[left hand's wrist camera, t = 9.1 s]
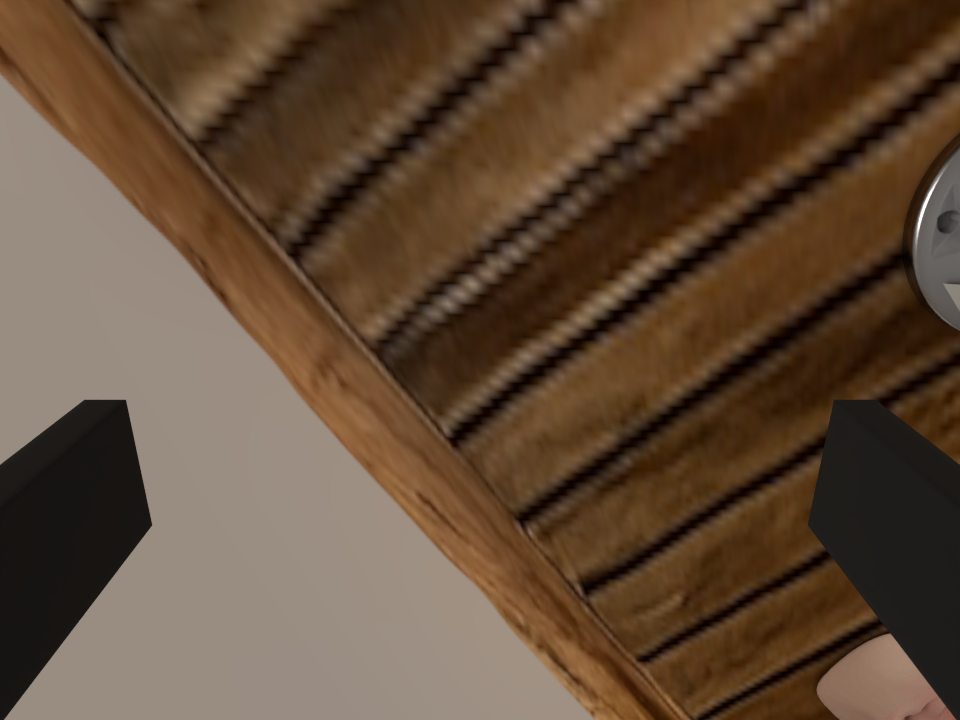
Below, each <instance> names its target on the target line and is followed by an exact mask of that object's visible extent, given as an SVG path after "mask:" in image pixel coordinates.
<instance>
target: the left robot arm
mask: <svg viewBox="0 0 960 720" xmlns="http://www.w3.org/2000/svg"><path fill="white" fill-rule="evenodd" d="M902 250H903V262H904V267H905V272H906V275H907V278H908V281H909V284H910V286H911V288H912V290H913V292H914V294H915V295H916V297H917V299H918V300H919V301H920V303H921V304H922V305H923V306H924V307H925V308H926V309H927V310H928V311H929V312H930V313H931V314H932V315H933V316H934V317H936V318H937V319H938V320H940V321H942V322H943V323H945V324H947V325H949V326H951V327H953V328H955V329H957V330H959V331H960V133H959V134H958V135H957V136H956V137H955V138H954V139H953V140H952V141H951V142H950V143H949V144H948V145H947V146H946V147H945V148H944V149H943V151H942V152H941V153H940V154H939V155H938V156H937V158H936V159H935V160H934V162H933V163H932V164H931V166H930V167H929V169H928V170H927V172H926V174H925V175H924V177H923V178H922V180H921V182H920V184H919V186H918V188H917V190H916V192H915V194H914V197H913V199H912V201H911V204H910V207H909V210H908V213H907V217H906V221H905V226H904V233H903V249H902ZM151 526H152V522H151V517H150V513H149V508H148V503H147V498H146V493H145V489H144V484H143V479H142V474H141V470H140V465H139V460H138V455H137V451H136V446H135V441H134V436H133V432H132V427H131V422H130V417H129V413H128V408H127V403H126V400H84V401H82V402H81V403H80V404H79V405H77V406H76V407H75V408H73V409H72V410H71V411H70V412H68V413H67V414H66V415H64V416H63V417H62V418H60V419H59V420H58V421H57V422H55V423H54V424H53V425H51V426H50V427H49V428H47V429H46V430H45V431H44V432H42V433H41V434H40V435H38V436H37V437H36V438H34V439H33V440H32V441H31V442H29V443H28V444H27V445H25V446H24V447H23V448H21V449H20V450H19V451H18V452H16V453H15V454H14V455H12V456H11V457H10V458H8V459H7V460H6V461H5V462H3V463H2V464H1V465H0V720H4V719H5V718H6V716H7V715H8V714H9V712H10V711H11V710H12V708H13V707H14V706H15V704H16V703H17V702H18V701H19V699H20V698H21V696H22V695H23V694H24V693H25V691H26V690H27V689H28V687H29V686H30V685H31V683H32V682H33V681H34V679H35V678H36V677H37V676H38V674H39V673H40V672H41V670H42V669H43V668H44V666H45V665H46V664H47V662H48V661H49V660H50V659H51V657H52V656H53V655H54V653H55V652H56V651H57V649H58V648H59V647H60V645H61V644H62V643H63V641H64V640H65V639H66V638H67V636H68V635H69V634H70V632H71V631H72V630H73V628H74V627H75V626H76V624H77V623H78V622H79V620H80V619H81V618H82V617H83V615H84V614H85V613H86V611H87V610H88V609H89V607H90V606H91V605H92V603H93V602H94V601H95V599H96V598H97V597H98V596H99V594H100V593H101V592H102V590H103V589H104V588H105V586H106V585H107V584H108V582H109V581H110V580H111V579H112V577H113V576H114V575H115V573H116V572H117V571H118V569H119V568H120V567H121V565H122V564H123V563H124V561H125V560H126V559H127V558H128V556H129V555H130V554H131V552H132V551H133V550H134V548H135V547H136V546H137V544H138V543H139V542H140V540H141V539H142V538H143V537H144V535H145V534H146V533H147V531H148V530H149V529H150V527H151ZM808 526H809V527H810V529H811V530H812V531H813V533H814V534H815V535H816V537H817V538H818V539H819V540H820V542H821V543H822V544H823V546H824V547H825V548H826V550H827V551H828V552H829V554H830V555H831V556H832V558H833V559H834V560H835V561H836V563H837V564H838V565H839V567H840V568H841V569H842V571H843V572H844V573H845V575H846V576H847V577H848V579H849V580H850V581H851V582H852V584H853V585H854V586H855V588H856V589H857V590H858V592H859V593H860V594H861V596H862V597H863V598H864V600H865V601H866V602H867V603H868V605H869V606H870V607H871V609H872V610H873V611H874V613H875V614H876V615H877V617H878V618H879V619H880V620H881V622H882V623H883V624H884V626H885V627H886V628H887V630H888V631H889V632H890V634H891V635H892V636H893V638H894V639H895V640H896V641H897V643H898V644H899V645H900V647H901V648H902V649H903V651H904V652H905V653H906V655H907V656H908V657H909V659H910V660H911V661H912V662H913V664H914V665H915V666H916V668H917V669H918V670H919V672H920V673H921V674H922V676H923V677H924V678H925V680H926V681H927V682H928V683H929V685H930V686H931V687H932V689H933V690H934V691H935V693H936V694H937V695H938V697H939V698H940V699H941V701H942V702H943V703H944V704H945V706H946V707H947V708H948V710H949V711H950V712H951V714H952V715H953V716H954V718H955V719H956V720H960V465H959V464H958V463H957V462H955V461H954V460H953V459H952V458H950V457H949V456H948V455H946V454H945V453H944V452H942V451H941V450H940V449H939V448H937V447H936V446H935V445H933V444H932V443H931V442H929V441H928V440H927V439H926V438H924V437H923V436H922V435H920V434H919V433H918V432H916V431H915V430H914V429H913V428H911V427H910V426H909V425H907V424H906V423H905V422H903V421H902V420H901V419H900V418H898V417H897V416H896V415H894V414H893V413H892V412H891V411H889V410H888V409H887V408H885V407H884V406H883V405H881V404H880V403H879V402H878V401H876V400H834V403H833V408H832V412H831V417H830V422H829V427H828V432H827V436H826V441H825V446H824V451H823V455H822V460H821V465H820V470H819V474H818V479H817V484H816V489H815V493H814V498H813V503H812V508H811V513H810V517H809V522H808Z"/></svg>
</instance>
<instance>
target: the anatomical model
mask: <svg viewBox="0 0 960 720" xmlns="http://www.w3.org/2000/svg"><path fill="white" fill-rule="evenodd" d="M817 694H818V696H819V698H820V700H821V701H822V702H823V704H824V705H825V706H826V707H827V708H828V709H829V710H830V711H831V712H832V713H833V714H834V715H835V716H836V717H838V718H839V719H840V720H956V719H955V718H954V716H953V715H952V714H951V712H950V711H949V710H948V708H947V707H946V706H945V704H944V703H943V702H942V701H941V699H940V698H939V697H938V695H937V694H936V693H935V691H934V690H933V689H932V687H931V686H930V685H929V683H928V682H927V681H926V680H925V678H924V677H923V676H922V674H921V673H920V672H919V670H918V669H917V668H916V666H915V665H914V664H913V662H912V661H911V660H910V659H909V657H908V656H907V655H906V653H905V652H904V651H903V649H902V648H901V647H900V645H899V644H898V643H897V641H896V640H895V639H894V638H893V636H892V635H891V634H890V633H889V634H885V635H882V636H879V637H876V638H874V639H871V640H869V641H867V642H866V643H864V644H862V645H860V646H859V647H857V648H856V649H854V650H853V651H851V652H850V653H849V654H847V655H846V656H845V657H844V658H842V659H841V660H840V661H839V662H837V663H836V664H835V665H834V666H833V667H832V668H831V669H830V670H829V671H828V672H827V673H826V674H825V675H824V676H823V677H822V678H821V680H820V682H819V683H818V686H817Z"/></svg>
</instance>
